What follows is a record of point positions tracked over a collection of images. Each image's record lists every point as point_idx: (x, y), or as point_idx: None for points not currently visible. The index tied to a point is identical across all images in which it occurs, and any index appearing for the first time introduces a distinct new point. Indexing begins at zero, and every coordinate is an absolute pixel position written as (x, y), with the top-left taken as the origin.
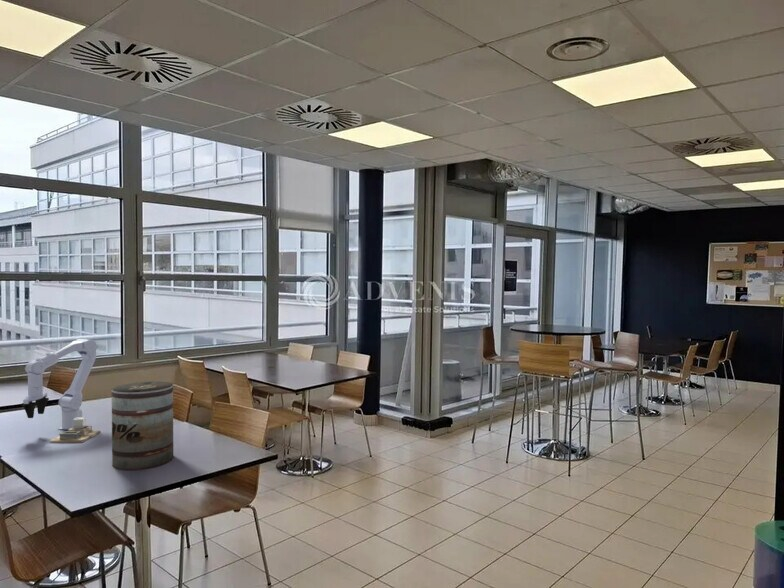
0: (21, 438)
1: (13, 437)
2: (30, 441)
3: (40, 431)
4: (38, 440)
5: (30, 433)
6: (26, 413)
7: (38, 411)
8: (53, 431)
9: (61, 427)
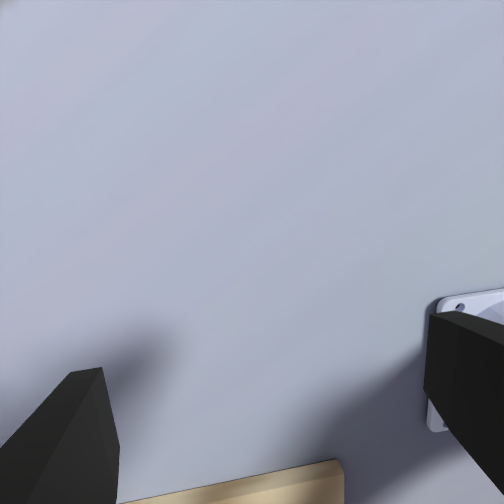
0: (109, 153)
1: (135, 8)
2: (22, 337)
3: (393, 164)
4: None
5: (317, 106)
6: (2, 447)
7: (462, 347)
8: (384, 296)
9: (479, 309)
